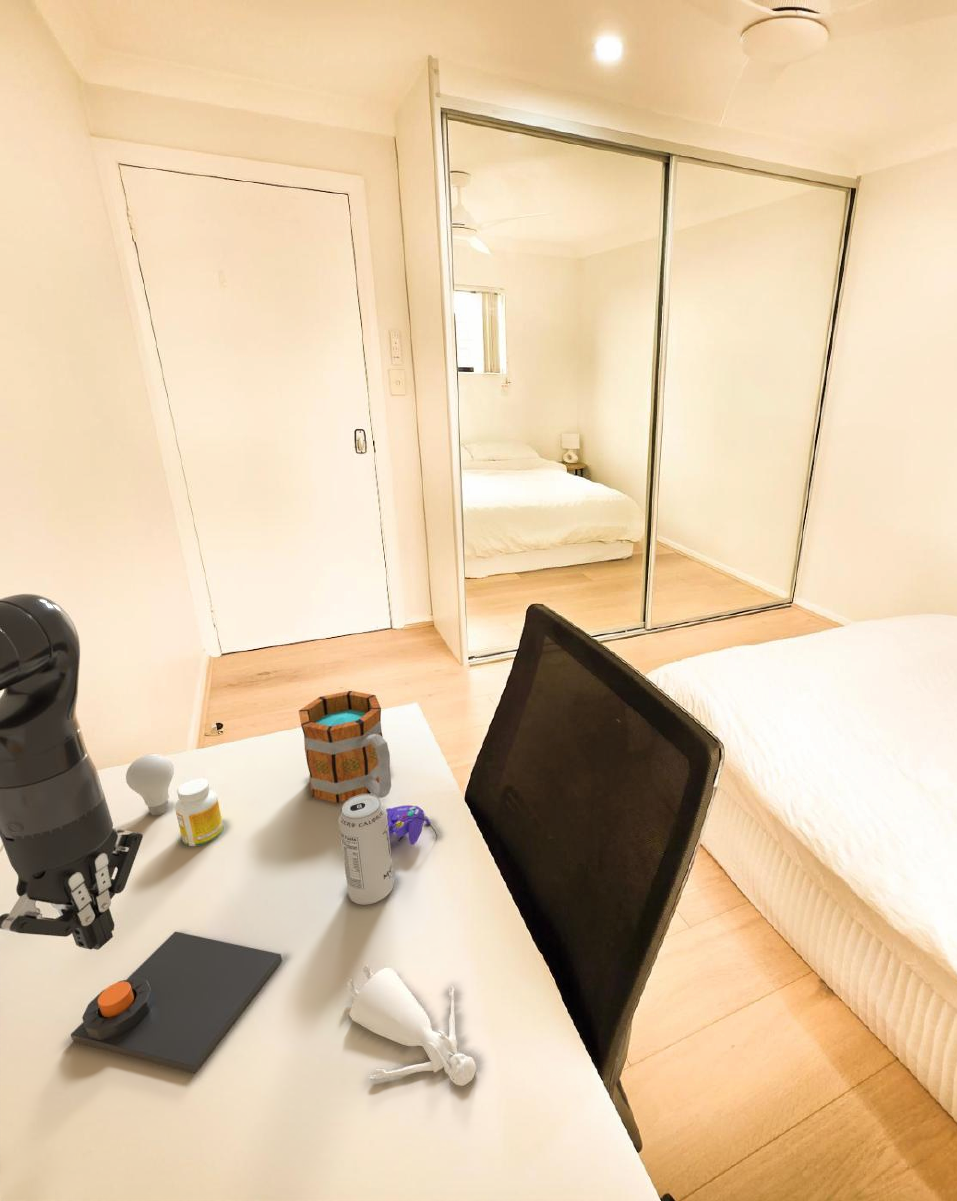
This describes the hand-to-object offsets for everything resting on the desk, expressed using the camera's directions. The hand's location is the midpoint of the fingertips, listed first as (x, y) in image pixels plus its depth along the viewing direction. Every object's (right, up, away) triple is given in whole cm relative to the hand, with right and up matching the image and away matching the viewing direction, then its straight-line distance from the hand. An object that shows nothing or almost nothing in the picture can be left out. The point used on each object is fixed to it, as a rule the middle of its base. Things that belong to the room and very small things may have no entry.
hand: (98, 942), depth 61 cm
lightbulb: (-20, 0, +36) cm, 41 cm away
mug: (+9, +2, +43) cm, 44 cm away
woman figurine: (+31, -13, +4) cm, 34 cm away
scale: (+5, -11, +7) cm, 13 cm away
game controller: (+21, -2, +33) cm, 39 cm away
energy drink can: (+20, -6, +22) cm, 30 cm away
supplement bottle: (-10, -2, +31) cm, 33 cm away
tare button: (0, -9, +3) cm, 9 cm away
